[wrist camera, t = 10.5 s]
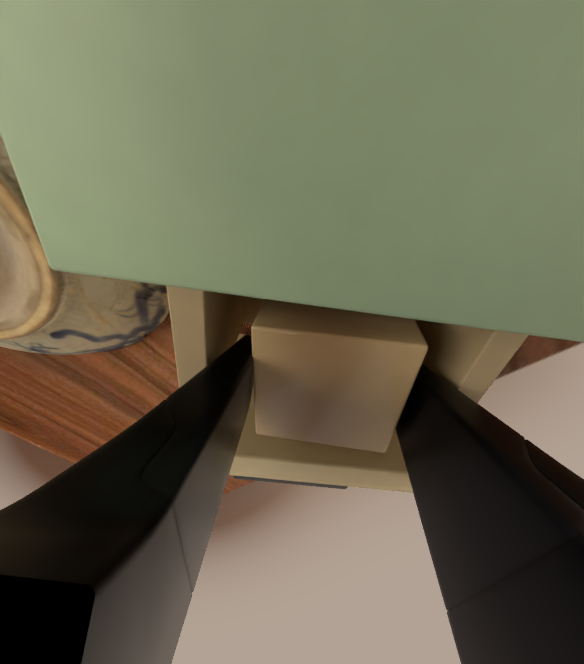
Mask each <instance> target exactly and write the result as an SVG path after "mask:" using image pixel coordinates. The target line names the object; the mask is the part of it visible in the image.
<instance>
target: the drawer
mask: <svg viewBox="0 0 584 664" xmlns="http://www.w3.org/2000/svg"><path fill="white" fill-rule="evenodd" d="M166 287H167V295H168V303H169V311H170V319H171V327H172V335H173V343H174V351H175V359H176V367H177V375H178V383H179V388H180V387H181V386H183V385H184V384H185V383H186V382H187V381H189V380H190V379H191V378H192V377H194V376H195V375H196V374H197V373H199V372H200V371H201V370H202V369H204V368H205V367H206V366H207V365H209V364H210V363H211V362H212V361H214V360H215V359H216V358H217V357H219V356H220V355H221V354H222V353H223V352H225V351H226V350H227V349H228V348H230V347H231V346H232V345H233V344H235V343H236V342H237V341H238V340H240V339H241V338H242V337H243V336H245V335H247V334H239V333H240V330H241V327H242V324H243V323H246V324H253V323H254V320H255V318H256V316H257V314H258V312H259V310H260V308H261V306H262V304H263V302H264V300H265V299H261V298H254V297H246V296H239V295H232V294H224V293H217V292H210V291H202V290H195V289H188V288H180V287H173V286H166ZM415 321H416V323H417V325H418V327H419V329H420V331H421V333H422V335H423V337H424V339H425V341H426V343H427V345H428V350H427V353H426V355H425V357H424V360H423V362H422V364H423V365H425V366H426V367H428V368H429V369H430V370H432V371H433V372H434V373H436V374H437V375H439V376H440V377H441V378H443V379H444V380H445V381H447V382H448V383H450V384H451V385H452V386H454V387H455V388H456V389H458V390H459V391H461V392H462V393H463V394H465V395H466V396H468V397H469V398H470V399H472V400H473V401H474V402H476V403H478V401H479V400H480V399H481V397H482V396H483V395H484V394H485V392H486V391H487V390H488V388H489V387H490V386H491V384H492V383H493V382H494V380H495V379H496V378H497V376H498V375H499V374H500V372H501V371H502V370H503V368H504V367H505V366H506V364H507V363H508V362H509V360H510V359H511V358H512V356H513V355H514V354H515V353H516V351H517V350H518V349H519V347H520V346H521V345H522V343H523V342H524V341H525V339H526V338H527V337H528V335H526V334H519V333H512V332H504V331H497V330H489V329H482V328H475V327H467V326H460V325H453V324H445V323H438V322H431V321H423V320H416V319H415ZM229 475H233V477H234V478H235V479H244V480H254V481H265V482H277V483H286V484H297V485H307V486H317V487H328V488H339V489H346V488H347V487H348V486H350V487H360V488H370V489H381V490H392V491H402V492H412V493H413V490H412V486H411V483H410V479H409V476H408V472H407V468H406V465H405V461H404V458H403V454H402V451H401V447H400V444H399V440H398V436H397V433H396V429H395V431H394V433H393V436H392V438H391V440H390V443H389V445H388V448H387V450H386V452H385V453H380V452H373V451H366V450H360V449H353V448H346V447H339V446H333V445H326V444H319V443H312V442H306V441H299V440H292V439H285V438H278V437H272V436H265V435H258V434H256V431H255V409H254V386H253V389H252V395H251V401H250V406H249V410H248V414H247V417H246V420H245V424H244V427H243V430H242V433H241V437H240V440H239V443H238V447H237V450H236V453H235V456H234V460H233V463H232V466H231V469H230V473H229Z"/></svg>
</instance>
